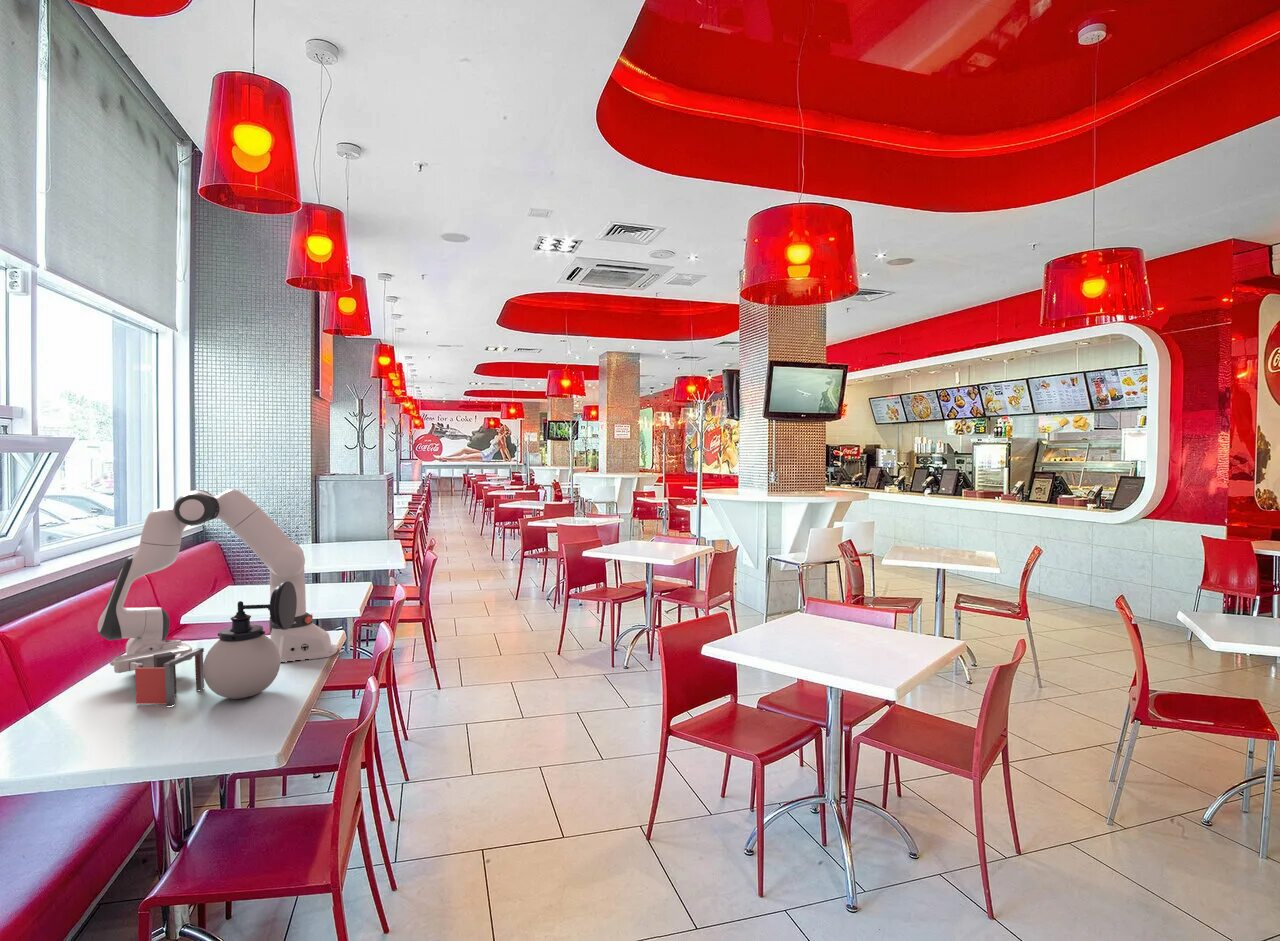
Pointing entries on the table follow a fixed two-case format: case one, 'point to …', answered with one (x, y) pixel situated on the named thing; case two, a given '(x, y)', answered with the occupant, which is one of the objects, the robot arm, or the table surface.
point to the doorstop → (163, 658)
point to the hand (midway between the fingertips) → (158, 664)
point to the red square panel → (150, 685)
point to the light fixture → (249, 649)
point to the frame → (170, 673)
